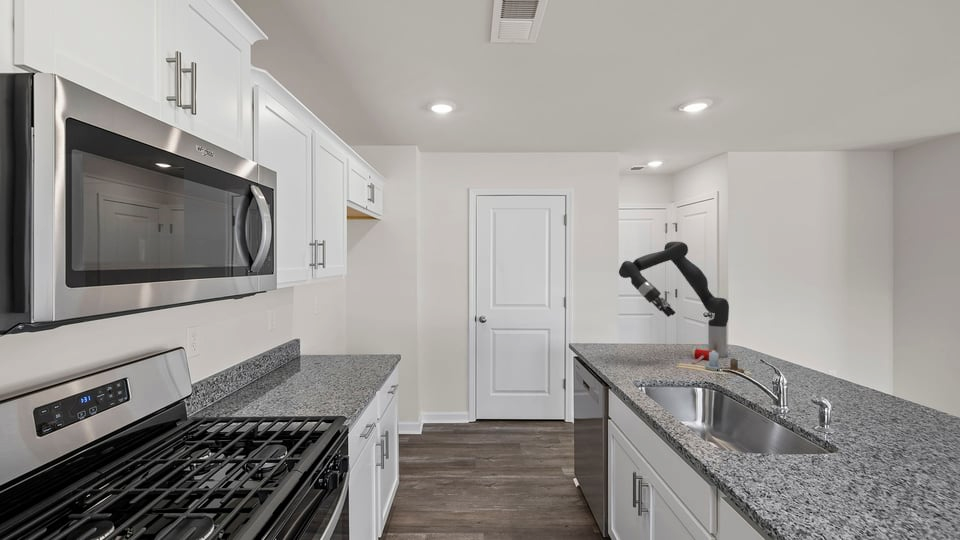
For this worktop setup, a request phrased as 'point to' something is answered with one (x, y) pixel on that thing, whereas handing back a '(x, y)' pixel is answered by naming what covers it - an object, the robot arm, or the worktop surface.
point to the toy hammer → (700, 355)
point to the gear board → (703, 368)
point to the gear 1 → (713, 362)
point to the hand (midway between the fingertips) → (672, 314)
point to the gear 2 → (734, 366)
